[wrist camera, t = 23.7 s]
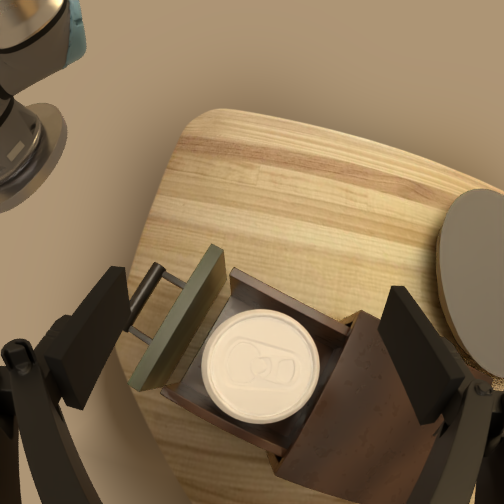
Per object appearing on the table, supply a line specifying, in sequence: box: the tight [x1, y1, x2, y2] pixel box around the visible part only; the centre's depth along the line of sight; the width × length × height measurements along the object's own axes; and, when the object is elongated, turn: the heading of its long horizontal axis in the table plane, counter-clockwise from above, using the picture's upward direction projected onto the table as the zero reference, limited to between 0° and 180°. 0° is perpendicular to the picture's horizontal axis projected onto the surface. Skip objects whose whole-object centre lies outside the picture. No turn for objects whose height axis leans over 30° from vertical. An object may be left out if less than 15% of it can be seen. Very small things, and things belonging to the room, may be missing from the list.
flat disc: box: [436, 189, 504, 378], centre depth 35 cm, size 28×28×4 cm
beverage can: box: [201, 309, 320, 424], centre depth 25 cm, size 8×8×12 cm
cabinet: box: [266, 310, 493, 504], centre depth 26 cm, size 17×15×11 cm
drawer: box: [123, 244, 350, 457], centre depth 28 cm, size 20×14×9 cm
